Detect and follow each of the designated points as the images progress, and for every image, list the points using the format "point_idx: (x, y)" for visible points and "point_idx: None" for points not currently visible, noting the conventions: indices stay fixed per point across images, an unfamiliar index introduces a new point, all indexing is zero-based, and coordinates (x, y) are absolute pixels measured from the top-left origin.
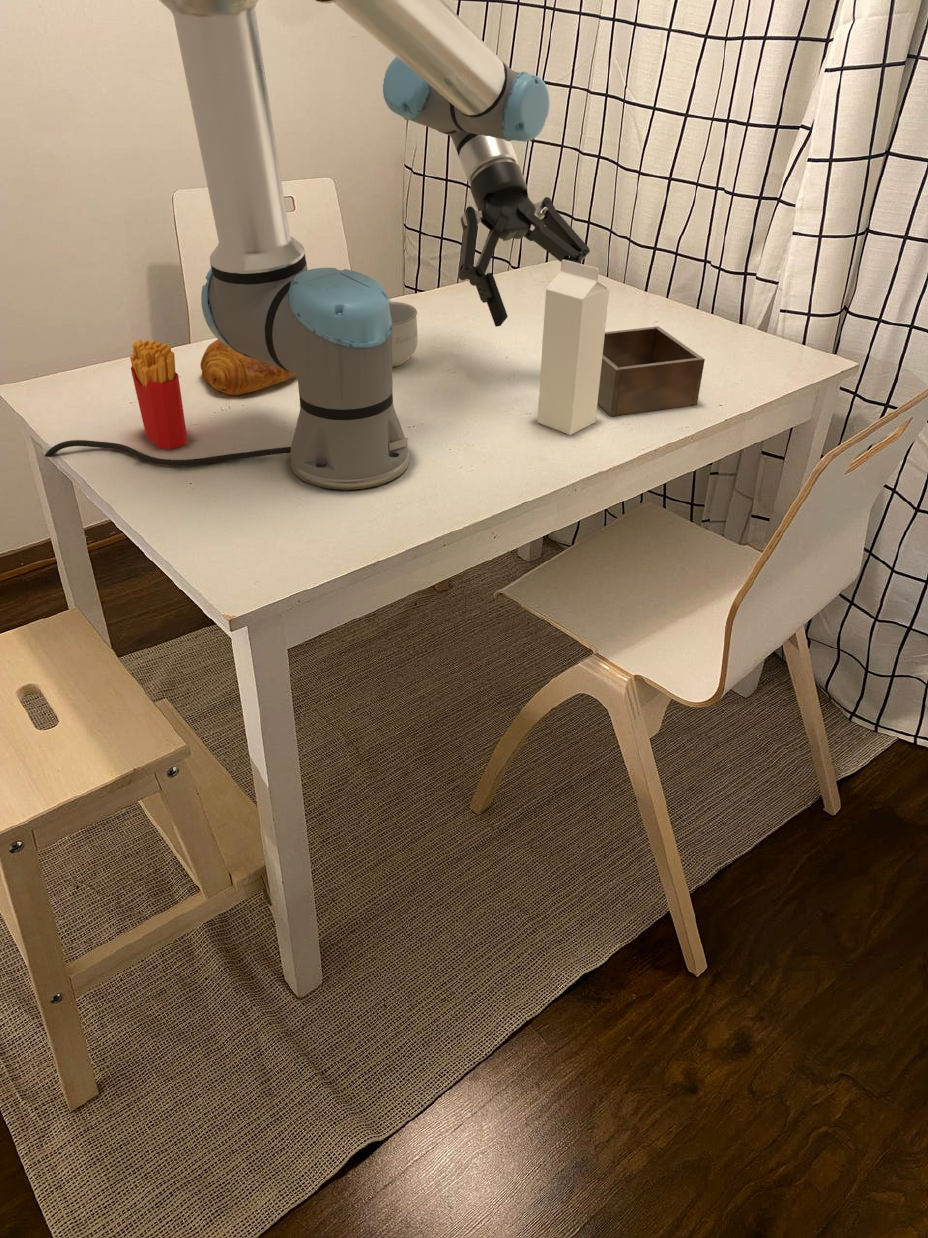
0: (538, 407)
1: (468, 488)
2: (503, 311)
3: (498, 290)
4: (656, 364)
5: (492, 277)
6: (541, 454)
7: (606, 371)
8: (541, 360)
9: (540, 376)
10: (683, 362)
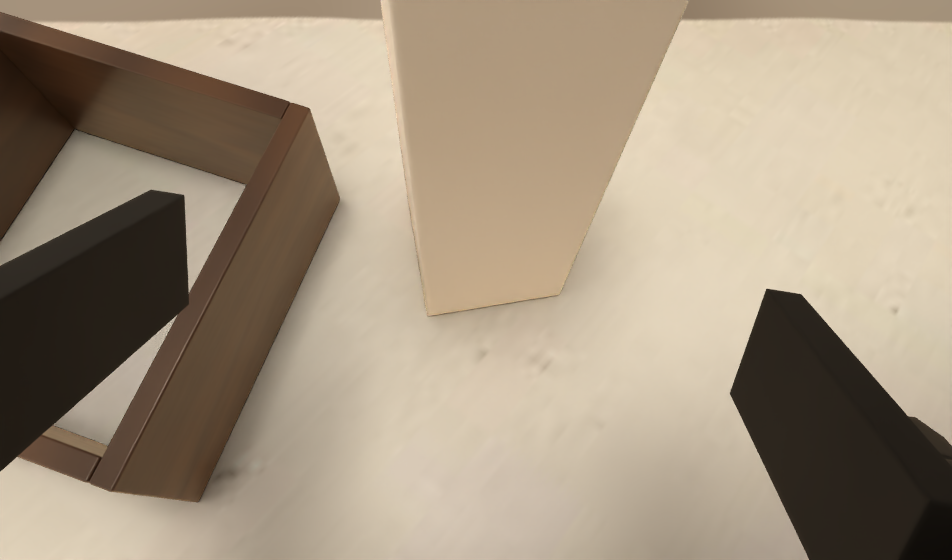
0: (567, 275)
1: (937, 123)
2: (798, 306)
3: (841, 385)
4: (148, 62)
5: (914, 467)
6: (673, 147)
7: (286, 188)
8: (603, 194)
9: (588, 227)
10: (52, 28)
